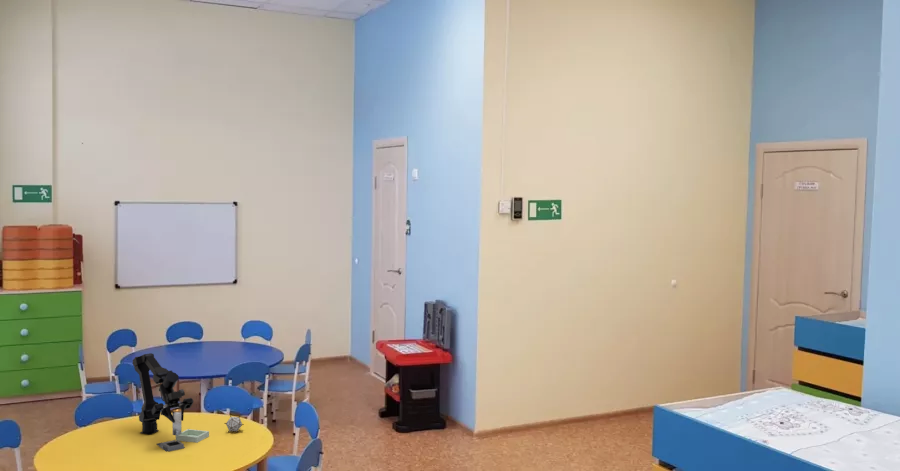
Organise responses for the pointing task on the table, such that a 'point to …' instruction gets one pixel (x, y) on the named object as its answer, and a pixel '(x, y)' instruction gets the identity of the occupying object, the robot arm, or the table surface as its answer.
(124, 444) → the table surface
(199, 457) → the table surface
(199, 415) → the table surface
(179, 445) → the grey slab
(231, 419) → the game die
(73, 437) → the table surface
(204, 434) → the tray
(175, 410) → the pin
